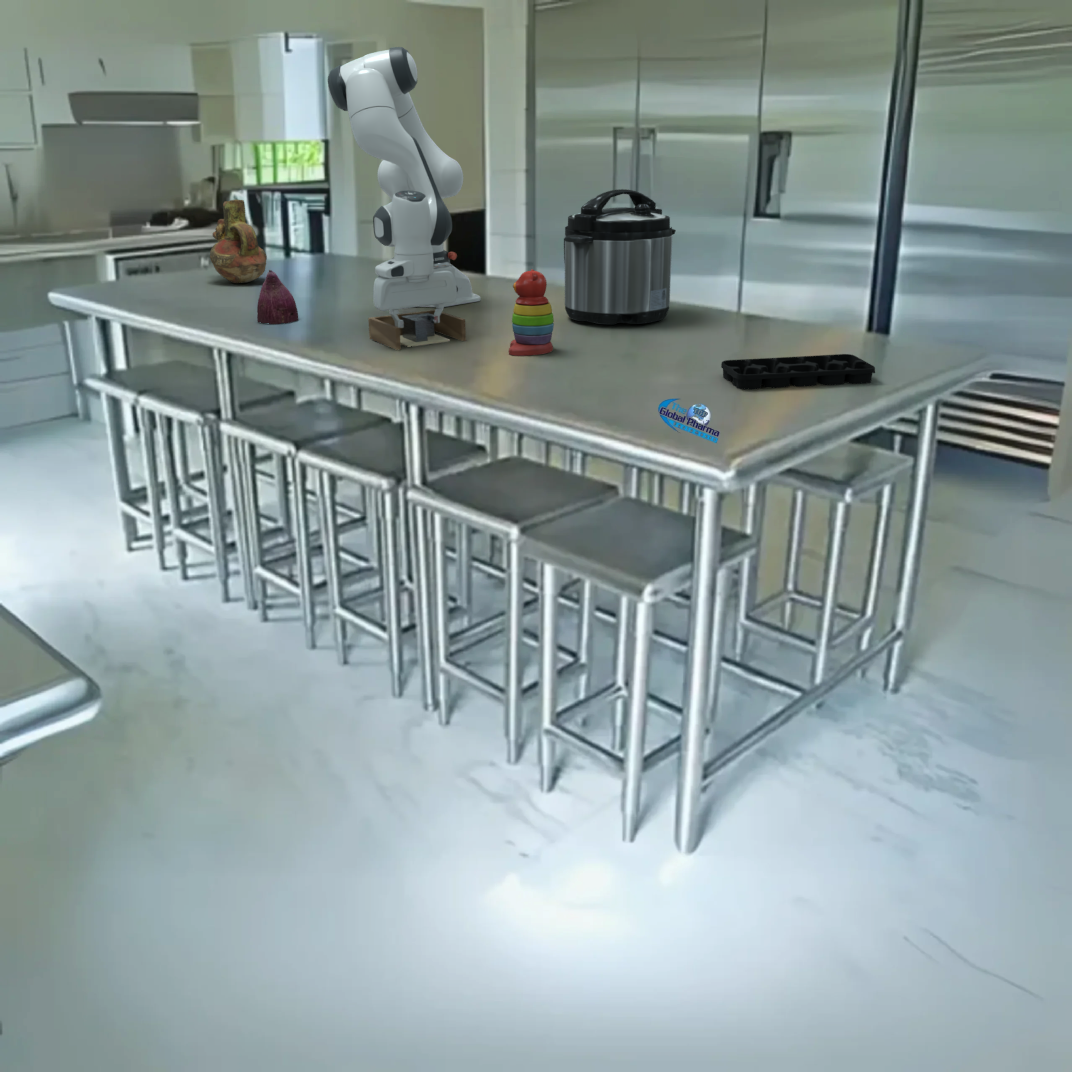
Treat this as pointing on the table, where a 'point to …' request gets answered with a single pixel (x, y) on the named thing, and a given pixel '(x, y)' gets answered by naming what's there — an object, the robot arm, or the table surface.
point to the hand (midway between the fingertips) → (417, 325)
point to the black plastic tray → (797, 371)
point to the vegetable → (275, 302)
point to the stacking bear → (531, 316)
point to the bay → (389, 334)
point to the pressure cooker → (618, 261)
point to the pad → (430, 341)
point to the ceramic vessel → (237, 246)
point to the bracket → (417, 327)
